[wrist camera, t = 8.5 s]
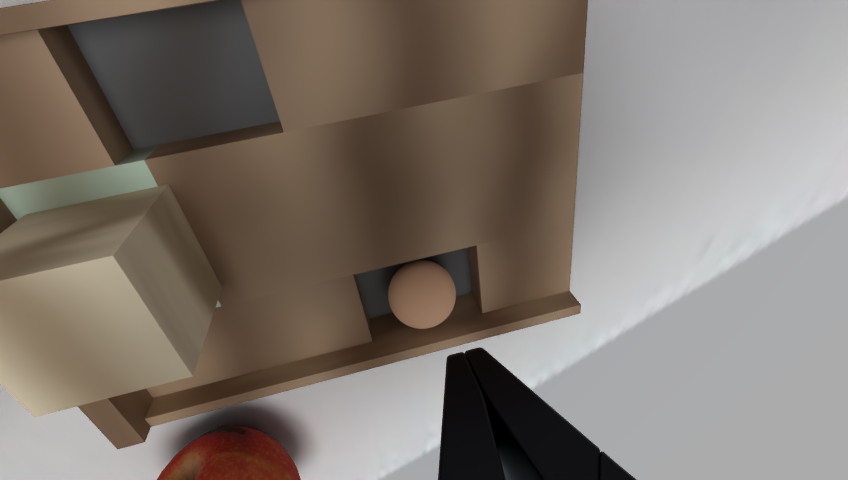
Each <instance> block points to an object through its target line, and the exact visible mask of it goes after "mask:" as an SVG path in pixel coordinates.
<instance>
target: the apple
mask: <svg viewBox="0 0 848 480" xmlns="http://www.w3.org/2000/svg"><path fill="white" fill-rule="evenodd" d="M157 480H300V476H299V473H298V470H297V467H296V466H295V464H294V462H293V461H292V459H291V457H290V456H289V454H288V453H287V451H286V450H285V449H284V448H283V447H282V446H281V445H280V444H279V443H278V442H277V441H275V440H274V439H273V438H271V437H270V436H268V435H266V434H265V433H263V432H261V431H258V430H255V429H251V428H247V427H241V426H224V427H220V428H218V429H215V430H213V431H210V432H208V433H206V434H204V435H202V436H201V437H199V438H198V439H196V440H195V441H193V442H192V443H190V444H189V445H187V446H186V447H185V448H184V449H183V450H181V451H180V452H179V453H178V454H177V455H176V456H175V457H174V458H173V459H172V460H171V461H170V463H169V464H168V465H167V466H166V467H165V469H164V470H163V471H162V472H161V474H160V476H159V477H158V479H157Z"/></svg>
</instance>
